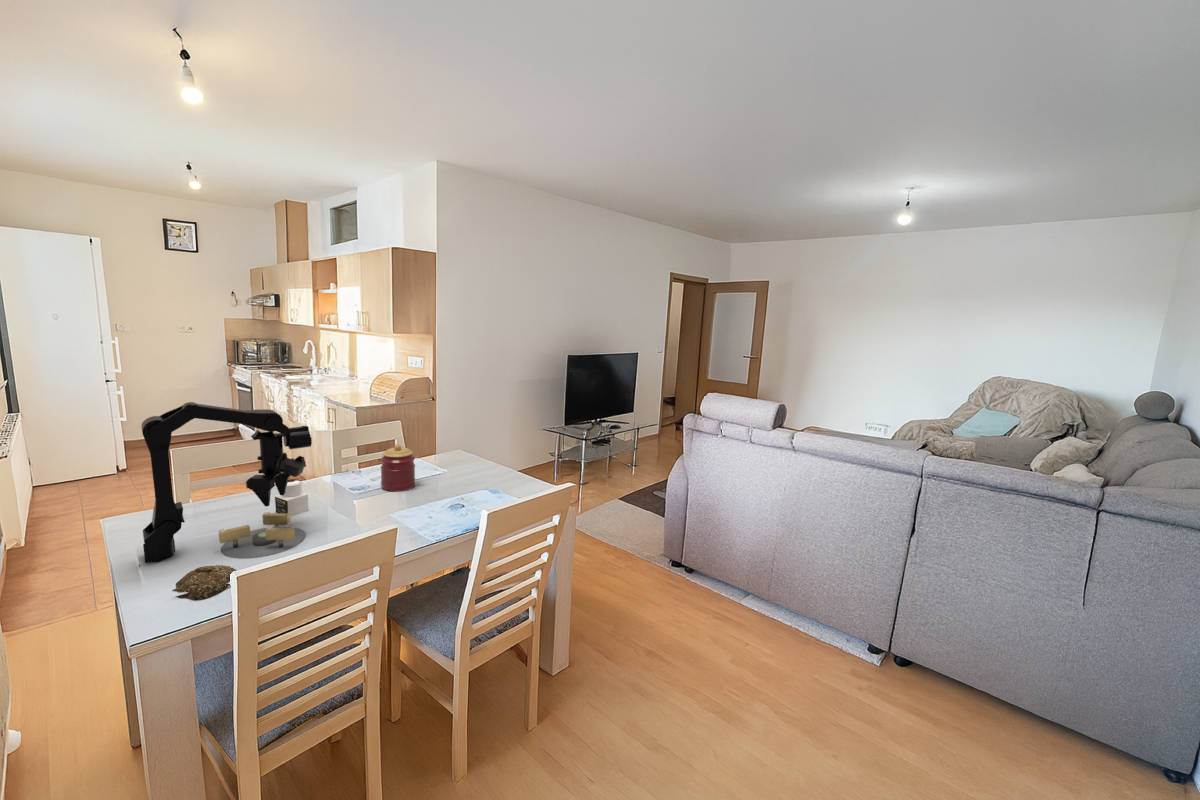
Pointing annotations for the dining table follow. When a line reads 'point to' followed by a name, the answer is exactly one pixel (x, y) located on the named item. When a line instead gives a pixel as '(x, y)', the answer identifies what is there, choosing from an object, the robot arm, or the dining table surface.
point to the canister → (397, 469)
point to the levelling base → (260, 550)
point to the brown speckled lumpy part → (204, 582)
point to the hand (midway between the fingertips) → (274, 500)
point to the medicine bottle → (292, 499)
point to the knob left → (234, 534)
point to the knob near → (280, 534)
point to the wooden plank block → (276, 519)
